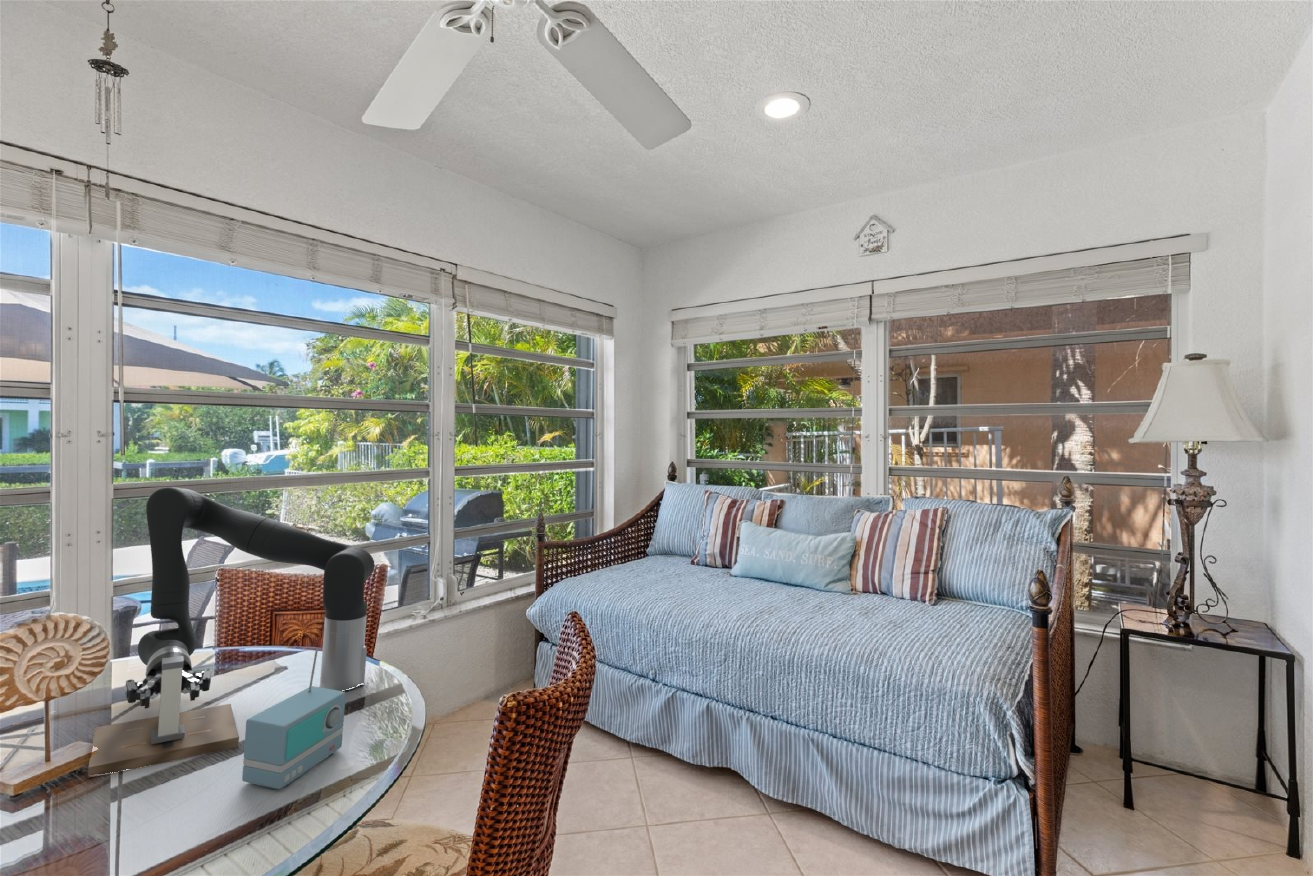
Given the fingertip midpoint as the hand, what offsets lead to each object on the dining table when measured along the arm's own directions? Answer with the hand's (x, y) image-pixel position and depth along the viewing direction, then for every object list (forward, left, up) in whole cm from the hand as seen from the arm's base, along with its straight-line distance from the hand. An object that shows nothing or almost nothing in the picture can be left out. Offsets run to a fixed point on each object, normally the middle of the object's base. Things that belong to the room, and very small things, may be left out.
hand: (170, 699), depth 119 cm
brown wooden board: (0, -5, -10) cm, 12 cm away
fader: (0, -2, -8) cm, 8 cm away
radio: (-19, +17, -11) cm, 27 cm away
